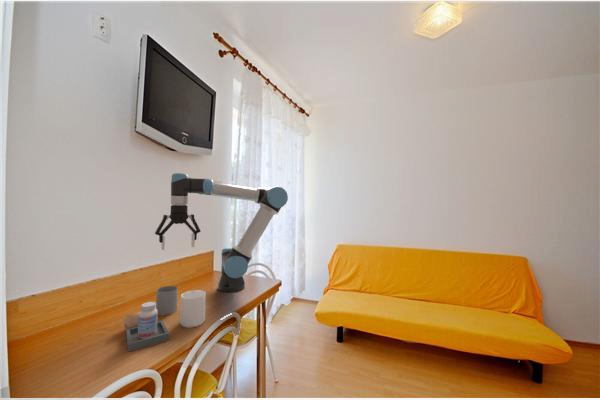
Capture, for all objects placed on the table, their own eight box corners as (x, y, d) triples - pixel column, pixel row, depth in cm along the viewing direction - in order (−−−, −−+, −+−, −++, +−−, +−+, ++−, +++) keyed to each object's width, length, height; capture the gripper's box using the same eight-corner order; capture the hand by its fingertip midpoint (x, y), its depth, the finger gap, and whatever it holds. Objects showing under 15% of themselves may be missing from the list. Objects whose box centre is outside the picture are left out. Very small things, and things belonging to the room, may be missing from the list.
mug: (190, 330, 98) (190, 300, 98) (171, 322, 104) (171, 294, 104) (210, 320, 106) (210, 292, 106) (191, 314, 112) (191, 287, 112)
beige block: (143, 321, 104) (144, 307, 103) (150, 327, 101) (152, 312, 100) (124, 328, 98) (125, 313, 98) (131, 334, 95) (132, 319, 94)
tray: (162, 326, 100) (162, 320, 100) (168, 340, 91) (168, 333, 91) (126, 336, 93) (126, 329, 93) (128, 351, 83) (128, 344, 83)
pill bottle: (136, 341, 88) (137, 308, 88) (139, 332, 93) (140, 302, 94) (156, 337, 90) (156, 306, 90) (158, 329, 96) (158, 300, 96)
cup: (168, 316, 110) (168, 293, 110) (151, 314, 111) (152, 291, 111) (180, 308, 118) (181, 286, 118) (165, 306, 119) (166, 285, 120)
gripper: (202, 204, 135) (202, 244, 135) (149, 204, 120) (148, 249, 120) (207, 205, 129) (206, 246, 129) (151, 204, 114) (150, 251, 114)
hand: (178, 248), depth 125 cm, fingers open, 13 cm apart
